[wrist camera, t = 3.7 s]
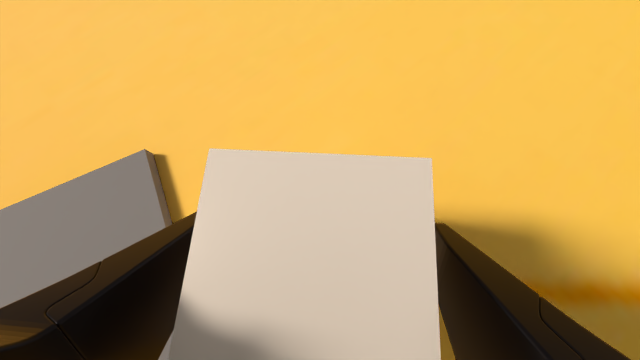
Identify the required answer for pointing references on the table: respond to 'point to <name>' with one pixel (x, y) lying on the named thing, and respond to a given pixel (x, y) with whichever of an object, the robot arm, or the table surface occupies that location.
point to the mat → (80, 225)
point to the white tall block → (311, 260)
